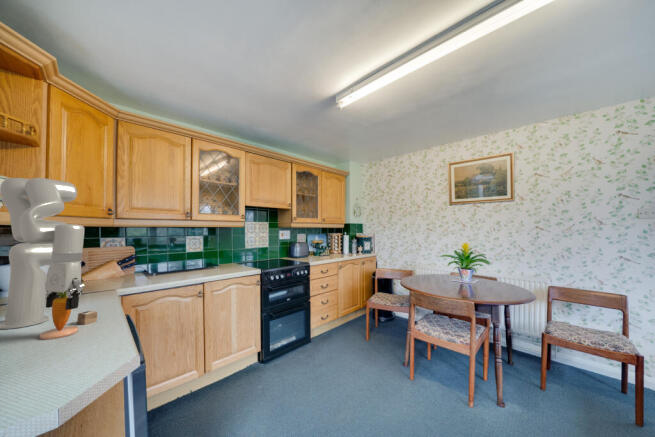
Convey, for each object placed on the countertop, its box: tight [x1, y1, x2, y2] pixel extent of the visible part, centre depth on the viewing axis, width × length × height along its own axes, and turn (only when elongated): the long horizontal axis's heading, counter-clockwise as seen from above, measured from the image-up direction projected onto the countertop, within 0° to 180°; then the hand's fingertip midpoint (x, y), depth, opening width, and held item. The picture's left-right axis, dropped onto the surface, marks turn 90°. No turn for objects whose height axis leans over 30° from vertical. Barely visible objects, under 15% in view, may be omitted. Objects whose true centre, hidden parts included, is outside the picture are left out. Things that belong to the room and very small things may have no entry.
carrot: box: [51, 291, 72, 331], centre depth 85 cm, size 5×5×15 cm
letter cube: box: [76, 310, 98, 326], centre depth 96 cm, size 4×4×4 cm
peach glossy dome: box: [39, 325, 79, 341], centre depth 85 cm, size 9×9×1 cm
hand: (61, 307), depth 85 cm, fingers open, 9 cm apart
